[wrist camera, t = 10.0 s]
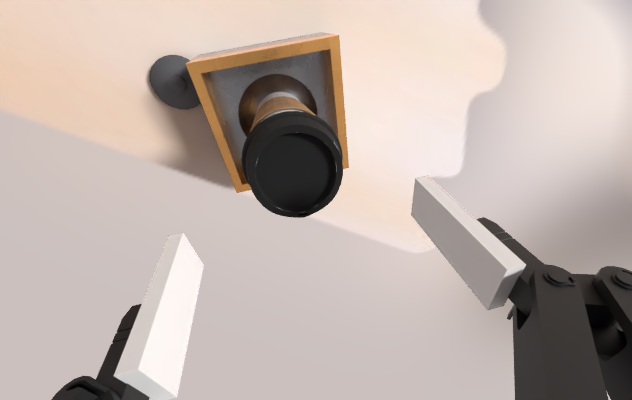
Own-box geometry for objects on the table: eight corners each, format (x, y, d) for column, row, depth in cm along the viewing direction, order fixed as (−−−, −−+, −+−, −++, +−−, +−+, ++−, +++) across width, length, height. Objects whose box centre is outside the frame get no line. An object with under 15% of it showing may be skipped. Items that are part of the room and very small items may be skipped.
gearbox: (200, 54, 31) (185, 63, 24) (321, 32, 32) (339, 35, 25) (239, 164, 39) (236, 192, 33) (333, 144, 41) (348, 167, 34)
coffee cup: (254, 153, 33) (254, 229, 21) (237, 84, 28) (224, 132, 16) (317, 143, 34) (351, 210, 22) (311, 74, 29) (350, 112, 17)
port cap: (143, 59, 30) (136, 61, 28) (195, 50, 31) (191, 52, 29) (167, 110, 34) (162, 115, 32) (213, 102, 34) (211, 106, 32)
